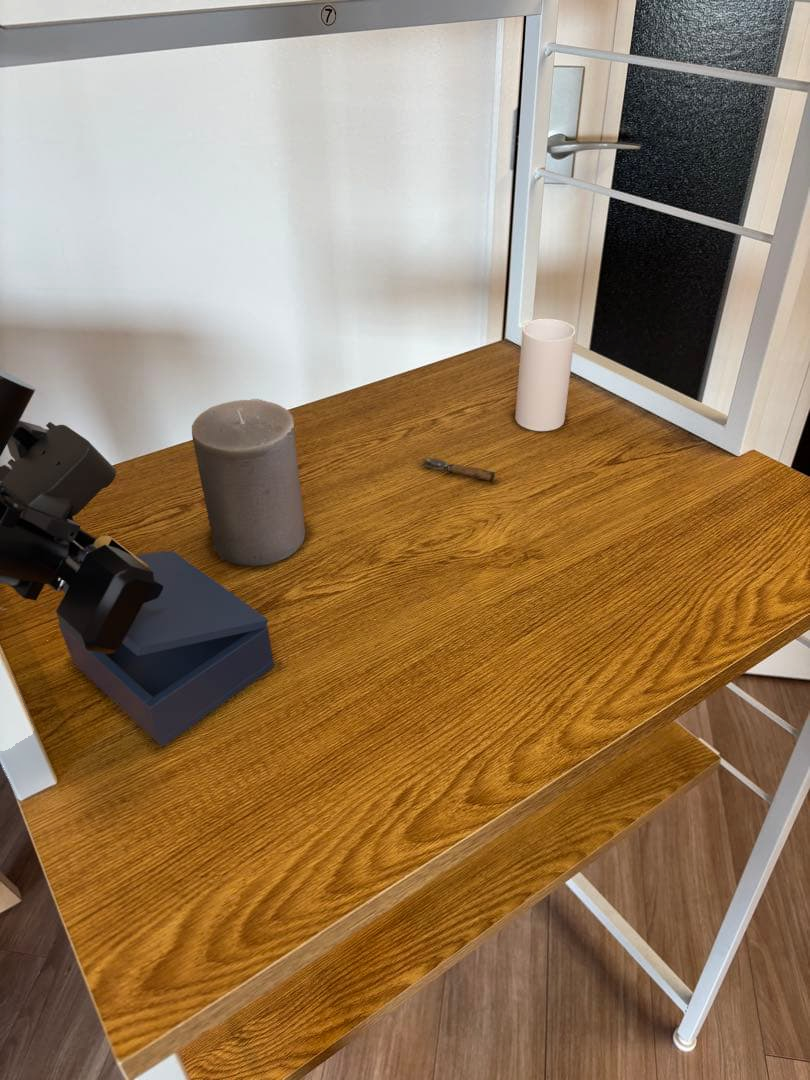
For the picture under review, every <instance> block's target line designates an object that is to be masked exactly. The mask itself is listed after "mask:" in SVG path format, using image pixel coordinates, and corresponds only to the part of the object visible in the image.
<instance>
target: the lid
mask: <svg viewBox="0 0 810 1080" xmlns="http://www.w3.org/2000/svg"><path fill="white" fill-rule="evenodd" d="M112 539H113V540H114V541H115V542H116V543H118V544H119V545H120V546H121V547H123V548H124V549H125V550H127V551H128V552H129V553H130V554H131V555H132V556H133V557H134V558H136V559H137V560H138V561H140V562H141V563H142V564H143V565H145V566H146V567H147V568H148V569H150V570H151V571H152V572H153V573H154V580H155V581H156V582H158V583H160V584H161V585H163V590H162V592H161V594H160V596H159V597H158V598H157V599H154V600H152V601H149V602H146V603H143V605H142V607H141V609H140V611H139V613H138V614H137V616H136V618H135V620H134V622H133V624H132V626H131V627H130V629H129V631H128V633H127V635H126V637H125V638H124V640H123V642H122V643H123V644H124V645H125V646H127V647H128V648H129V649H130V650H131V651H132V652H133V653H135V654H136V655H137V656H140V655H145V654H149V653H154V652H158V651H163V650H167V649H172V648H177V647H181V646H186V645H190V644H195V643H199V642H204V641H208V640H213V639H217V638H222V637H226V636H231V635H235V634H240V633H245V632H249V631H254V630H258V629H263V628H266V627H267V626H268V623H269V619H268V618H267V617H266V616H264V615H263V614H261V613H260V612H259V611H257V609H255V608H253V607H252V606H250V605H249V604H248V603H247V602H245V601H243V600H242V599H241V598H239V597H238V596H237V595H235V594H234V593H233V592H231V591H229V590H228V589H227V588H225V587H224V586H223V585H222V584H220V583H218V582H217V581H216V580H214V579H213V578H211V577H210V576H209V575H208V574H206V573H205V572H203V571H202V570H200V569H199V568H198V567H196V566H195V565H193V564H192V563H191V562H190V561H188V560H186V558H183V556H181V555H179V554H178V553H177V552H175V551H174V550H168V551H158V552H157V551H156V552H149V553H139V554H134V553H132V551H130V550H129V549H127V548H126V547H125V546H123V545H122V544H121V543H120V542H118V541H117V540H116V539H114V538H113V537H112V536H110V535H107V534H106V535H101V536H99V537H97V539H96V541H95V542H94V544H93V545H95V546H97V547H98V548H99V547H101V546H103V545H109V543H110V541H111V540H112ZM68 588H69V585H68V584H67V583H65V586H64V588H63V589H62V591H61V592H63V593H64V594H66V592H67V590H68ZM267 628H268V627H267Z"/></svg>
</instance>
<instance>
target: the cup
mask: <svg viewBox="0 0 810 1080" xmlns="http://www.w3.org/2000/svg"><path fill="white" fill-rule="evenodd" d="M575 337H576V329H575V327H574V326H573V325H572V324H570V323H569V322H566V321H563V320H560V319H553V318H539V319H534V320H530V321H528V322H526V323H525V324H524V325H523V326H522V330H521V343H520V355H519V367H518V376H517V377H518V378H517V390H516V391H517V392H516V404H515V416H514V418H515V421H516V423H517V424H518V425H519V426H521V427H522V428H524V429H527V430H530V431H535V432H548V431H550V432H551V431H554V430H557V429H559V428H560V427H562V426H563V425H564V423H565V419H566V411H567V401H568V396H569V395H568V394H569V388H570V387H569V386H570V378H571V370H572V363H573V354H574V347H575V346H574V345H575Z"/></svg>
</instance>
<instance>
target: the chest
mask: <svg viewBox="0 0 810 1080" xmlns="http://www.w3.org/2000/svg"><path fill="white" fill-rule="evenodd" d="M58 627H59V629H60V632H61V635H62V638H63V640H64V643H65V645H66V648H67V651H68V653H69V656H70V658H71V661H72V663H73V664H74V665H75V666H76V668H78V669H79V670H80V671H81V672H82V673H83V674H84V675H85V676H86V677H87V678H89V680H91V681H92V682H93V683H94V684H95V685H96V686H97V687H98V688H99V689H100V690H101V691H102V692H103V693H104V694H105V695H106V696H107V697H108V698H110V699H111V701H113V702H114V703H115V704H116V705H117V706H118V707H119V708H120V709H121V710H122V711H123V712H124V713H125V714H126V715H128V716H129V717H130V718H131V719H132V720H133V721H134V722H135V723H136V724H137V725H138V726H139V727H140V728H141V729H143V731H144V732H145V733H147V734H148V735H149V736H150V737H151V739H153V740H154V741H155V743H157V744H158V746H160V747H162V748H164V747H165V746H167V745H168V744H169V743H171V742H172V741H174V740H175V739H176V738H178V737H179V736H180V735H182V734H183V733H185V732H186V731H188V730H189V729H190V728H191V727H193V726H194V725H196V724H197V723H199V722H200V721H201V720H202V719H204V718H205V717H207V716H208V715H210V714H211V713H212V712H214V711H215V710H216V709H218V708H220V706H222V705H223V704H225V703H226V702H228V701H229V700H230V699H232V698H233V697H234V696H236V695H237V694H238V693H240V692H241V691H243V690H244V689H246V688H247V687H249V685H251V684H252V683H254V682H256V681H257V680H258V679H259V678H261V677H262V676H264V675H265V674H266V673H268V672H269V671H271V670H272V669H273V668H274V667H275V663H274V656H273V651H272V644H271V640H270V639H271V638H270V633H269V628H268V627H266V628H263V629H258V630H254V631H249V632H245V633H240V634H235V635H231V636H226V637H222V638H217V639H213V640H208V641H204V642H199V643H195V644H190V645H186V646H181V647H177V648H172V649H167V650H163V651H158V652H154V653H149V654H145V655H140V656H137V655H136V654H135V653H133V652H132V651H131V650H130V649H129V648H128V647H127V646H125V645H124V644H123V643H122V644H121V646H120V648H119V649H118V651H116V652H113V653H110V654H107V653H100V652H94V651H88V650H86V649H85V648H84V647H83V646H82V645H81V644H80V643H79V642H78V641H77V640H75V639H74V638H73V637H72V636H71V635H70V634H69V633H68V632H67V631H66V630H65V629H64V628H63V627H62V626H61V624H60V622H59V623H58Z"/></svg>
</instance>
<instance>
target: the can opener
mask: <svg viewBox="0 0 810 1080" xmlns="http://www.w3.org/2000/svg"><path fill="white" fill-rule="evenodd" d="M421 460H422V461H424V462H423V466H424V467H425V468H432V467H433V468H432V469H434V470H438V471H441V470H445V469H446V470H447V472H450V473H452V474H458V475H464V476H467V477H470V478H474V479H477V480H478V479H479V480H483V481H488V482H493V481H494V479H495V474H496V473H495V471H491V470H488V469H483V468H479V467H471V466H465V465H461V464H456V463H449V464H447V462H446V461H444V460H440V459H436V458H422V459H421ZM427 462H428V463H430V464H427Z"/></svg>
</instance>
